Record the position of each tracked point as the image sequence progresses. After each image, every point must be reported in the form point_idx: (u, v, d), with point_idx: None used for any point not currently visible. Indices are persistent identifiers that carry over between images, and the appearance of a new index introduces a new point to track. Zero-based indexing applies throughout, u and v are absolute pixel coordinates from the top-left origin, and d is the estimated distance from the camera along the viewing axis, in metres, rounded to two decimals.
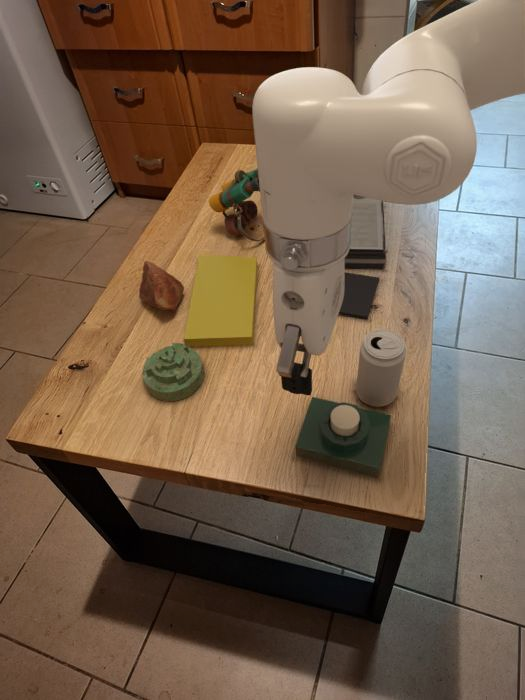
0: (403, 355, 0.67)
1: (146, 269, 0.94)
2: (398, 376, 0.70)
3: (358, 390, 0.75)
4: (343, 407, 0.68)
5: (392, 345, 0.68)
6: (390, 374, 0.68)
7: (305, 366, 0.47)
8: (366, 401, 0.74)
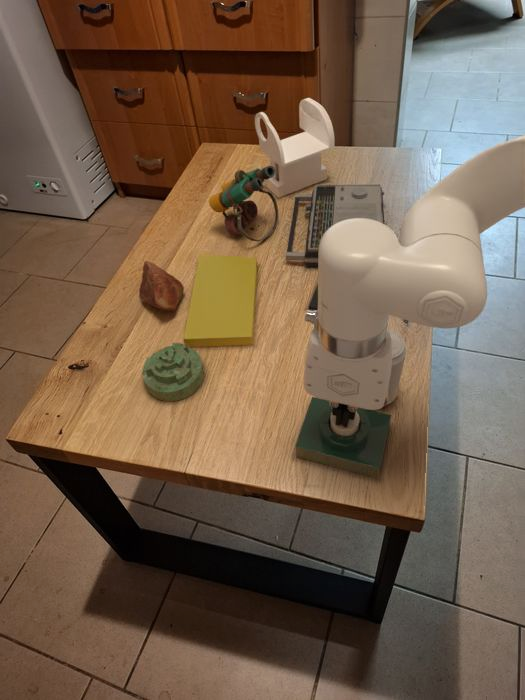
0: (403, 355, 0.67)
1: (146, 269, 0.94)
2: (398, 376, 0.70)
3: None
4: None
5: (392, 345, 0.68)
6: None
7: (329, 400, 0.63)
8: None
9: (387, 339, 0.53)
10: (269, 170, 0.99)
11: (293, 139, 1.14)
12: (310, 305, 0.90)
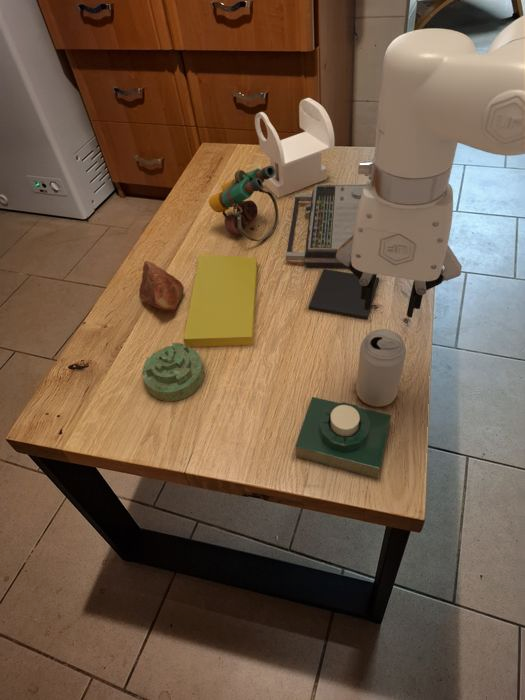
0: (403, 355, 0.67)
1: (146, 269, 0.94)
2: (398, 376, 0.70)
3: (358, 390, 0.75)
4: (343, 407, 0.68)
5: (392, 345, 0.68)
6: (390, 374, 0.68)
7: (361, 276, 0.59)
8: (366, 401, 0.74)
9: (449, 190, 0.49)
10: (269, 170, 0.99)
11: (293, 139, 1.14)
12: (310, 305, 0.90)
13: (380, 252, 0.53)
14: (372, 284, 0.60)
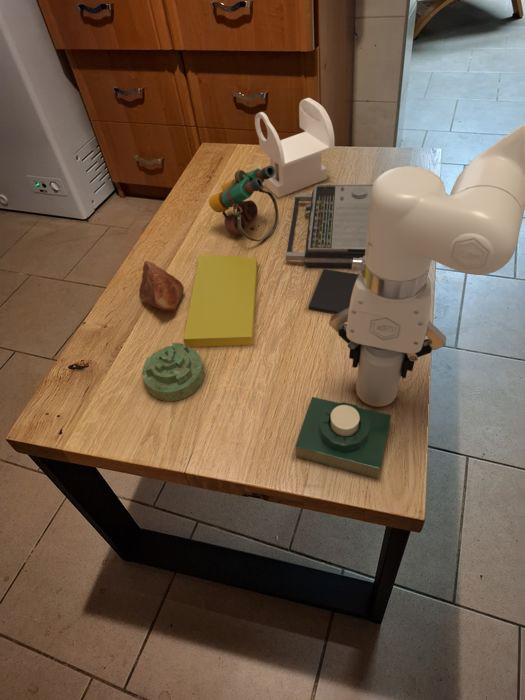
0: (403, 355, 0.67)
1: (146, 269, 0.94)
2: (398, 376, 0.70)
3: (358, 390, 0.75)
4: (343, 407, 0.68)
5: None
6: (390, 374, 0.68)
7: (350, 341, 0.68)
8: (366, 401, 0.74)
9: (427, 283, 0.58)
10: (269, 170, 0.99)
11: (293, 139, 1.14)
12: (310, 305, 0.90)
13: (370, 329, 0.63)
14: (358, 347, 0.69)
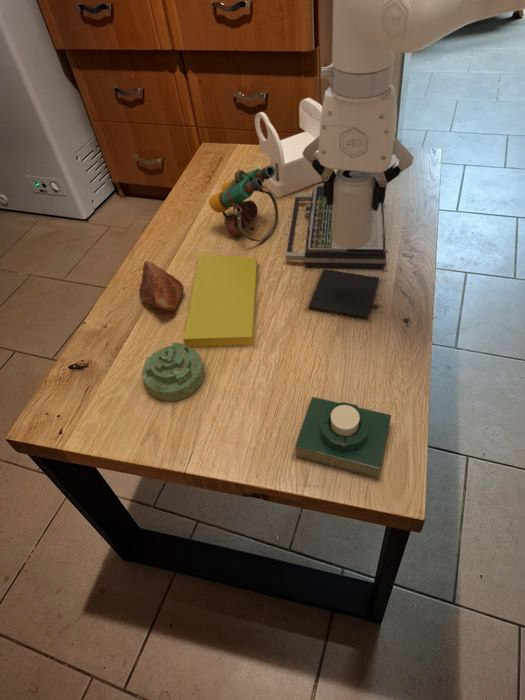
0: (374, 183, 0.70)
1: (146, 269, 0.94)
2: (370, 209, 0.73)
3: (333, 233, 0.78)
4: (343, 407, 0.68)
5: (364, 174, 0.71)
6: (361, 204, 0.71)
7: (323, 172, 0.71)
8: (341, 243, 0.77)
9: (392, 89, 0.61)
10: (269, 170, 0.99)
11: (293, 139, 1.14)
12: (310, 305, 0.90)
13: (340, 147, 0.66)
14: (332, 180, 0.72)
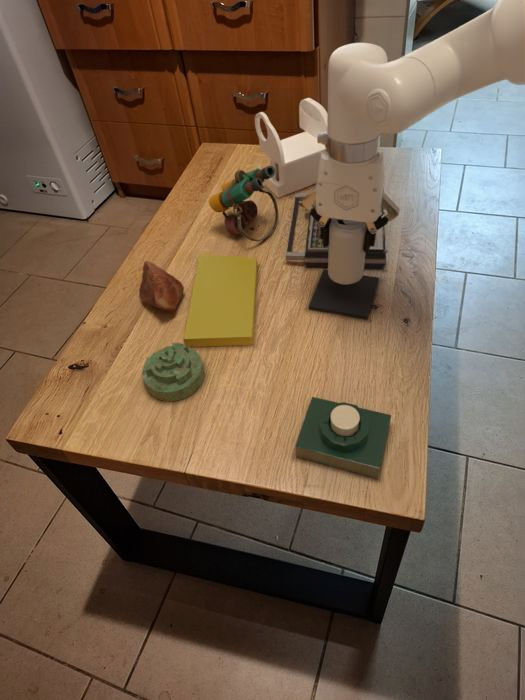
0: (365, 229, 0.79)
1: (146, 269, 0.94)
2: (362, 251, 0.82)
3: (329, 271, 0.86)
4: (343, 407, 0.68)
5: (356, 221, 0.79)
6: (354, 247, 0.80)
7: (320, 219, 0.80)
8: (336, 280, 0.86)
9: (380, 154, 0.70)
10: (269, 170, 0.99)
11: (293, 139, 1.14)
12: (310, 305, 0.90)
13: (335, 200, 0.74)
14: (328, 226, 0.81)
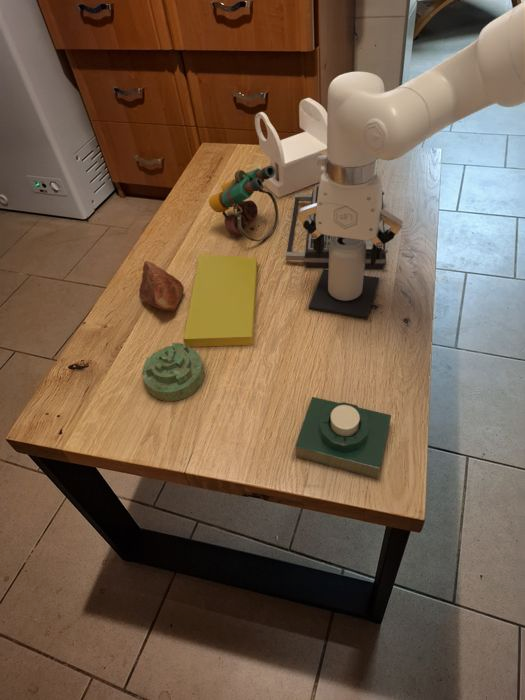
0: (363, 249, 0.82)
1: (146, 269, 0.94)
2: (361, 270, 0.85)
3: (329, 287, 0.89)
4: (343, 407, 0.68)
5: (355, 241, 0.82)
6: (353, 266, 0.83)
7: (314, 231, 0.82)
8: (336, 296, 0.89)
9: (378, 175, 0.73)
10: (269, 170, 0.99)
11: (293, 139, 1.14)
12: (310, 305, 0.90)
13: (334, 219, 0.77)
14: (320, 238, 0.83)
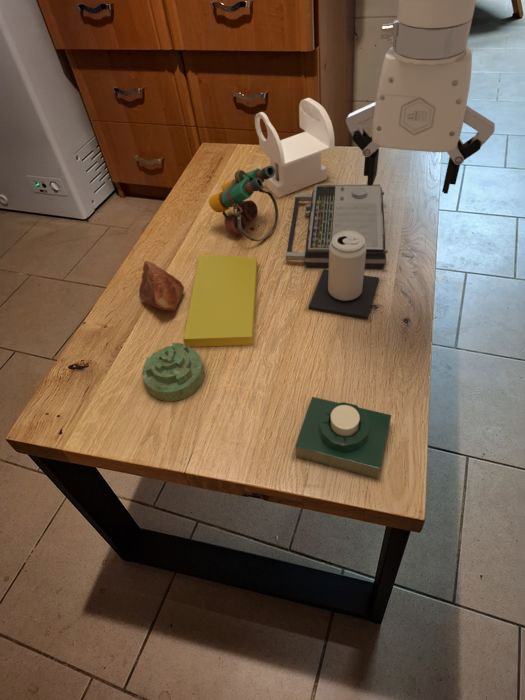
0: (364, 249, 0.82)
1: (146, 269, 0.94)
2: (361, 270, 0.85)
3: (329, 287, 0.89)
4: (343, 407, 0.68)
5: (355, 241, 0.82)
6: (353, 266, 0.83)
7: (367, 145, 0.61)
8: (336, 296, 0.89)
9: (467, 51, 0.51)
10: (269, 170, 0.99)
11: (293, 139, 1.14)
12: (310, 305, 0.90)
13: (400, 121, 0.56)
14: (375, 156, 0.62)
